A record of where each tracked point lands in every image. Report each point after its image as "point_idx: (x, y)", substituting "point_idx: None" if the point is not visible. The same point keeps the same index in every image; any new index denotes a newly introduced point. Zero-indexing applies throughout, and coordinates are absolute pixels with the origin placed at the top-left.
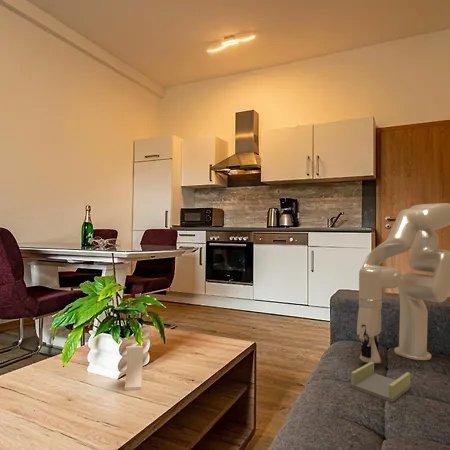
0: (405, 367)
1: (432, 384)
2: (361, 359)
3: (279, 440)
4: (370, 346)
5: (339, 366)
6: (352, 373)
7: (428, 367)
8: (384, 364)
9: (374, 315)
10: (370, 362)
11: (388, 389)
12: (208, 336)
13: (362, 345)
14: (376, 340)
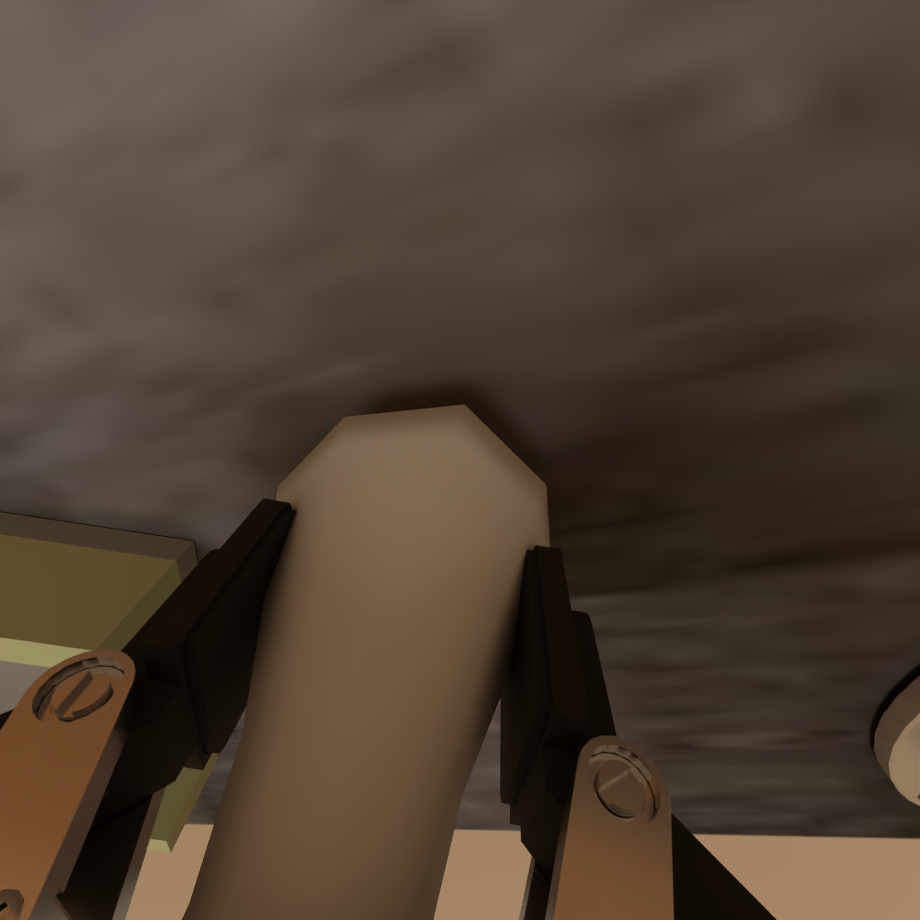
0: (618, 694)
1: None
2: (305, 461)
3: None
4: (185, 764)
5: (87, 188)
6: None
7: (720, 783)
8: (585, 576)
9: None
10: (57, 650)
11: (2, 690)
12: None
13: (156, 643)
14: (536, 855)
